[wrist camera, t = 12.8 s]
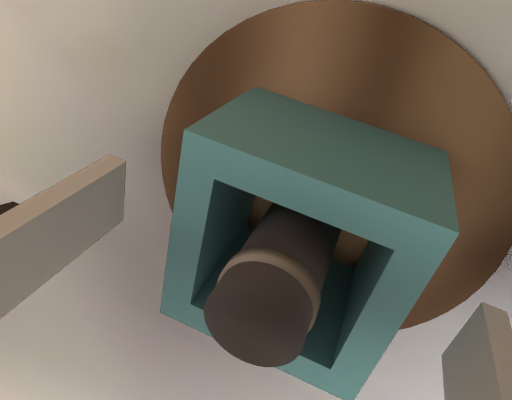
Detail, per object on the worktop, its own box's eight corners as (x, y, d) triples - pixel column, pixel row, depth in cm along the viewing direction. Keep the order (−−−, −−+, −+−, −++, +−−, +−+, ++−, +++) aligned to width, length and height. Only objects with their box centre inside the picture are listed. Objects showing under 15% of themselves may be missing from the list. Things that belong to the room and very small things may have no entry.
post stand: (157, 252, 24) (40, 370, 17) (190, -48, 16) (-14, -76, 8) (415, 367, 21) (411, 570, 14) (627, 73, 13) (904, 196, 5)
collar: (222, 234, 21) (159, 311, 16) (255, 86, 17) (183, 129, 12) (369, 296, 19) (351, 403, 14) (447, 151, 15) (459, 233, 10)
